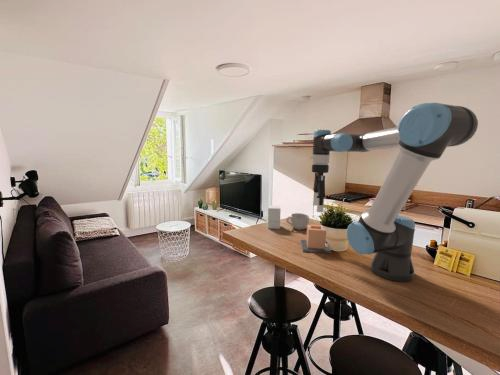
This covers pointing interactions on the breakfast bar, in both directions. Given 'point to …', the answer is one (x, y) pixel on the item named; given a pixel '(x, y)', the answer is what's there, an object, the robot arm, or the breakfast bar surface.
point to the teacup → (298, 221)
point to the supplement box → (274, 217)
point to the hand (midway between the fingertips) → (317, 208)
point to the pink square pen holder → (316, 237)
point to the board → (306, 249)
